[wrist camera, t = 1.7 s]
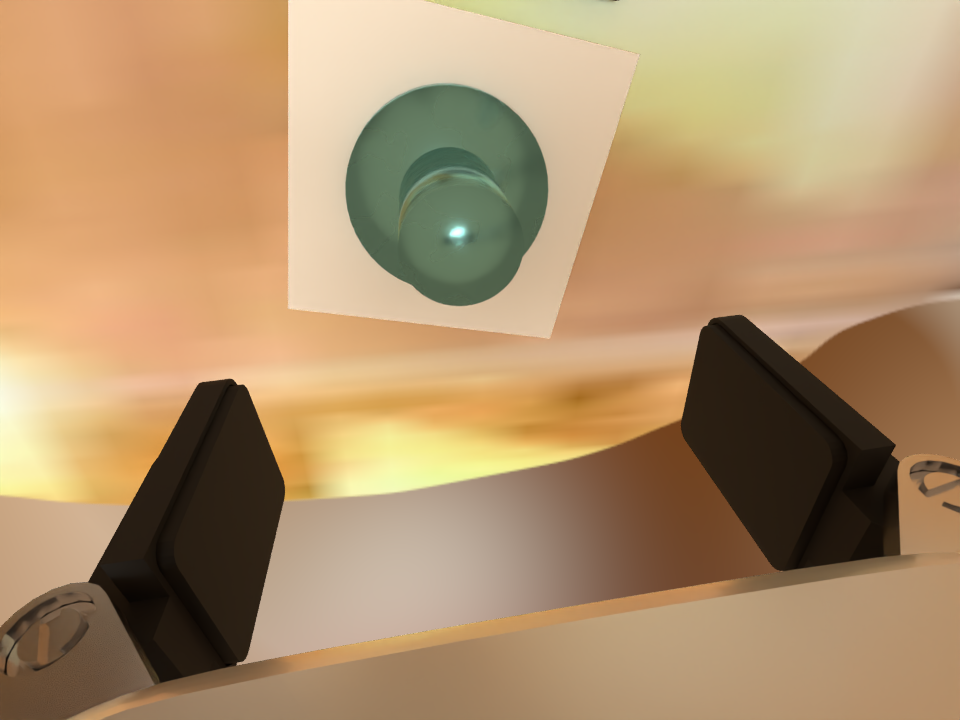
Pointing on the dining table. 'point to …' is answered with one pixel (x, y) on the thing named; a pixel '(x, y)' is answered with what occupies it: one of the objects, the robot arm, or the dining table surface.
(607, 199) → the dining table surface
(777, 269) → the dining table surface
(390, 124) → the end cover
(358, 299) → the housing
